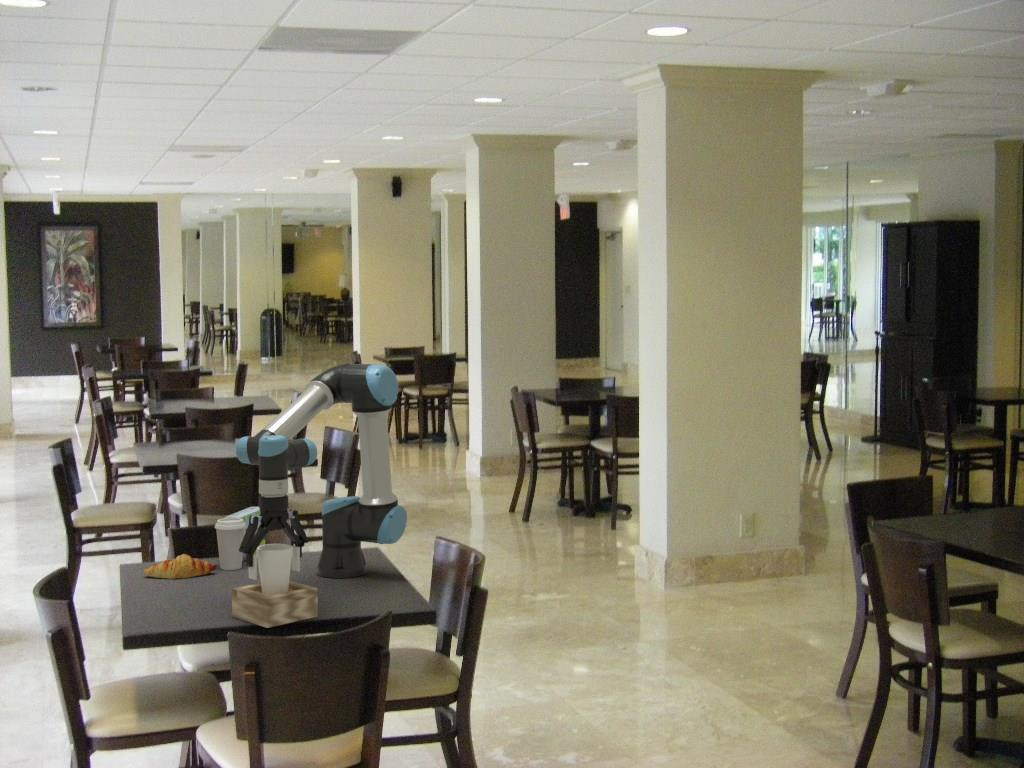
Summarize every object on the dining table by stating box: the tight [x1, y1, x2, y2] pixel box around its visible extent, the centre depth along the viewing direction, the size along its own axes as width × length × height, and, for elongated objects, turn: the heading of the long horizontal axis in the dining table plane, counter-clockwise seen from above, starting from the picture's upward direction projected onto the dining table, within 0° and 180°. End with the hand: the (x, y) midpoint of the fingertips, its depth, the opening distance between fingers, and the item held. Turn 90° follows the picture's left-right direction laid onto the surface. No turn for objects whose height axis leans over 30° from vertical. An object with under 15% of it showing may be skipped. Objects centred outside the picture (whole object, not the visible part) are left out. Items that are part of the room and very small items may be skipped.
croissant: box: [143, 553, 217, 580], centre depth 373 cm, size 21×10×8 cm, turn 106°
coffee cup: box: [214, 517, 246, 571], centre depth 383 cm, size 10×10×15 cm
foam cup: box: [256, 543, 294, 596], centre depth 325 cm, size 10×9×13 cm
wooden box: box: [231, 580, 319, 629], centre depth 326 cm, size 16×16×8 cm
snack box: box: [224, 506, 266, 563], centre depth 398 cm, size 21×6×15 cm, turn 168°
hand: (274, 574), depth 325 cm, fingers open, 13 cm apart
